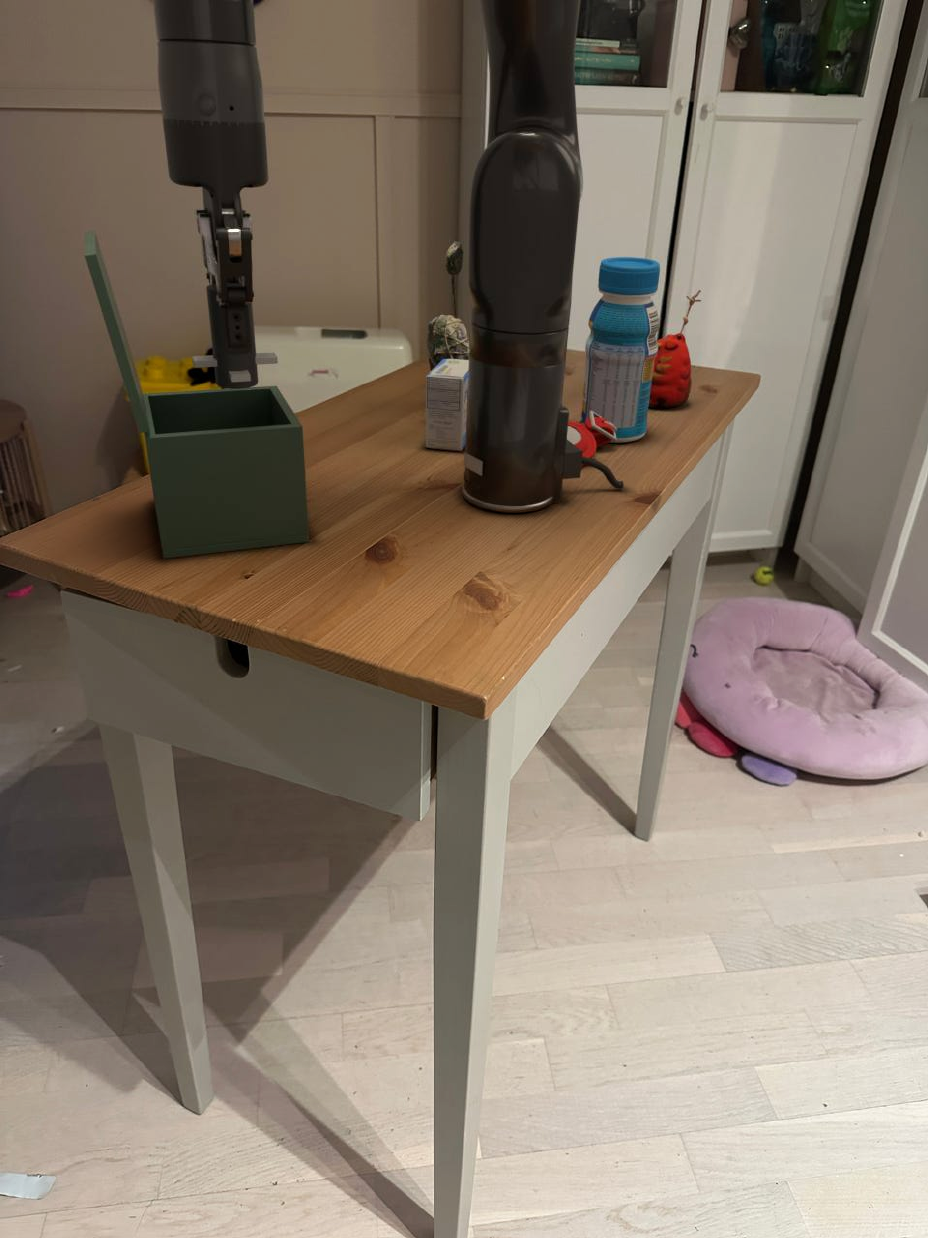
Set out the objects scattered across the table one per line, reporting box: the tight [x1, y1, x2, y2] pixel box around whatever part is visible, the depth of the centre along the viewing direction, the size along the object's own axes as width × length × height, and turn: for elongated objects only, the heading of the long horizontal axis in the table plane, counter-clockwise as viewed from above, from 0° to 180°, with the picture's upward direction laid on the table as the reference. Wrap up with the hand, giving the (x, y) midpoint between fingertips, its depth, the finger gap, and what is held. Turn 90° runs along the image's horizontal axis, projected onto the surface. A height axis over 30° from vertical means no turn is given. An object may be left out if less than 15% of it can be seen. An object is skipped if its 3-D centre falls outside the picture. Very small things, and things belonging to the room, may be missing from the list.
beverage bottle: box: [579, 256, 661, 444], centre depth 105 cm, size 8×8×20 cm
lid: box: [84, 230, 149, 434], centre depth 72 cm, size 13×13×1 cm
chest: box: [143, 385, 310, 560], centre depth 80 cm, size 13×13×11 cm
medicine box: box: [425, 359, 469, 452], centre depth 103 cm, size 8×4×9 cm, turn 168°
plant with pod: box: [426, 241, 470, 372], centre depth 112 cm, size 8×11×20 cm
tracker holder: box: [567, 411, 617, 468], centre depth 103 cm, size 12×4×10 cm
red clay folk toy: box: [648, 289, 702, 409], centre depth 118 cm, size 8×7×15 cm
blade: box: [191, 283, 279, 389], centre depth 75 cm, size 7×6×8 cm
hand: (234, 345), depth 76 cm, fingers closed on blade, 3 cm apart
